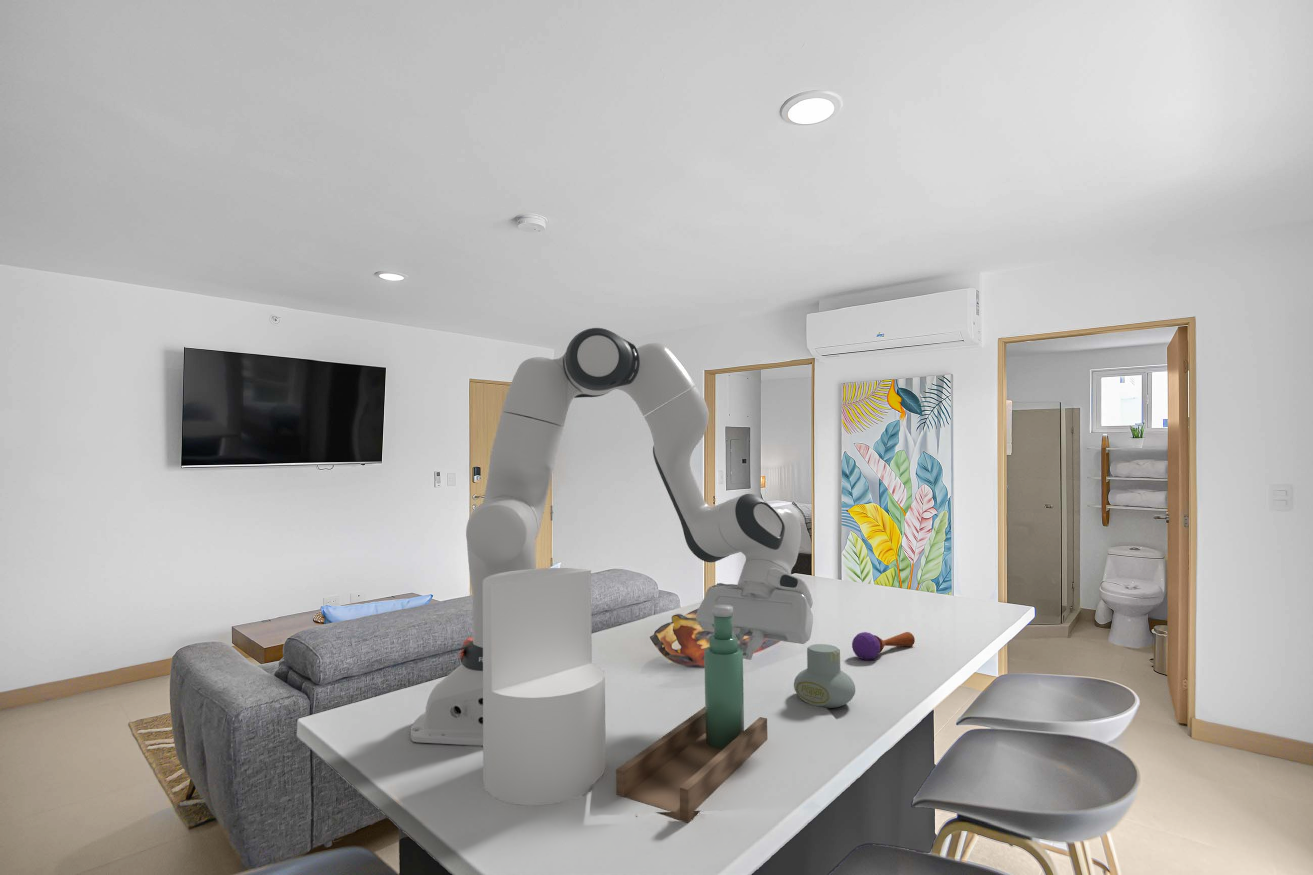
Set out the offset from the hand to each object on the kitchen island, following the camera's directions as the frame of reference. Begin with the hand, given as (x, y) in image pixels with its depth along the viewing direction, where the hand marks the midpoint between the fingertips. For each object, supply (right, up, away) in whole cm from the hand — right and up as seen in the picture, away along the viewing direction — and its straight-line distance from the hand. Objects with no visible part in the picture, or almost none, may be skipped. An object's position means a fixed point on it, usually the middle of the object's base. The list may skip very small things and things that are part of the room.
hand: (741, 656), depth 109 cm
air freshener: (+17, -13, +12) cm, 24 cm away
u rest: (-8, -12, -14) cm, 20 cm away
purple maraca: (+39, -14, +43) cm, 59 cm away
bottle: (-3, -11, -6) cm, 13 cm away
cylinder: (-30, -12, -15) cm, 36 cm away
